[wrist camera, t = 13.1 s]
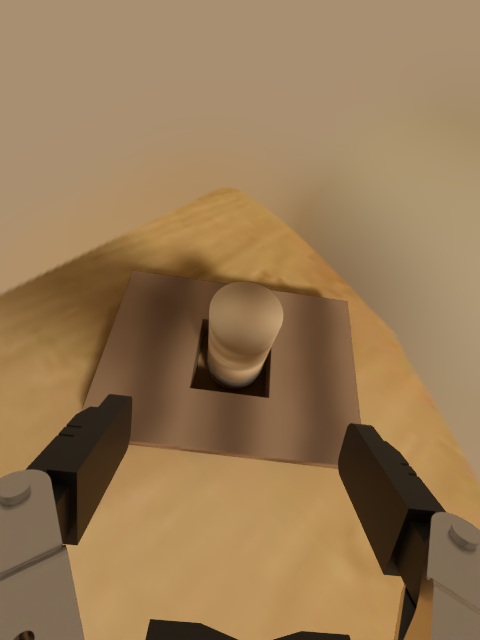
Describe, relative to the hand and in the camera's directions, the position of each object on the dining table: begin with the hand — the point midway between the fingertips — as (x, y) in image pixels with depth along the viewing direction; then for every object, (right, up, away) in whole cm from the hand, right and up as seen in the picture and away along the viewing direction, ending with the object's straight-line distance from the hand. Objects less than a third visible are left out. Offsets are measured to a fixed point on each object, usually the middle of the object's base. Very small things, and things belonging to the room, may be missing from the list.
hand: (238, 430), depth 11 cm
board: (-1, 0, +15) cm, 15 cm away
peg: (-1, 0, +15) cm, 15 cm away
